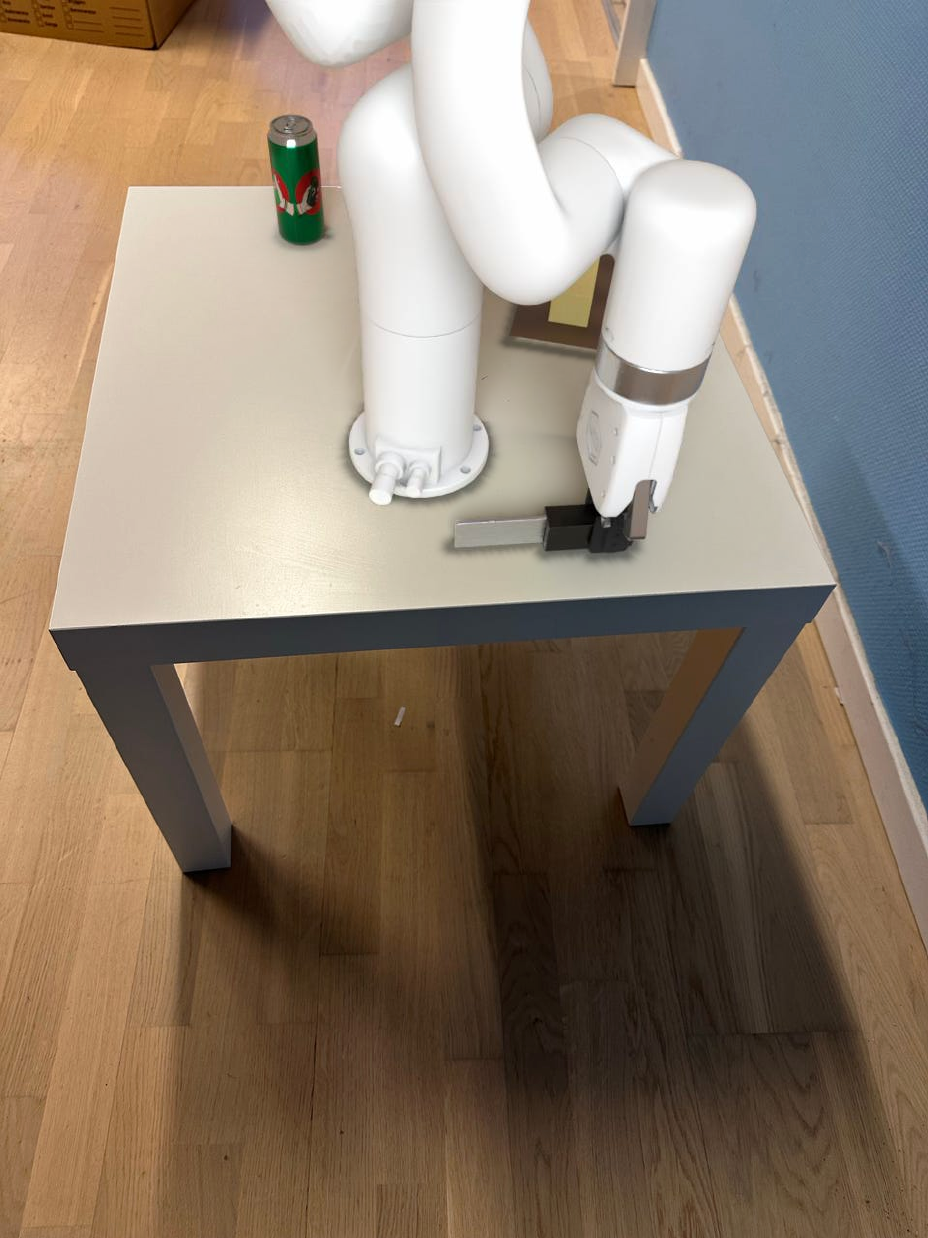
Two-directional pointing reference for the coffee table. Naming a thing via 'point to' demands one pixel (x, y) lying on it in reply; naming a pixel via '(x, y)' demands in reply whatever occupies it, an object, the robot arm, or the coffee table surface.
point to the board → (537, 327)
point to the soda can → (296, 179)
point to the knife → (533, 529)
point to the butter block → (575, 300)
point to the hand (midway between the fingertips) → (603, 534)
